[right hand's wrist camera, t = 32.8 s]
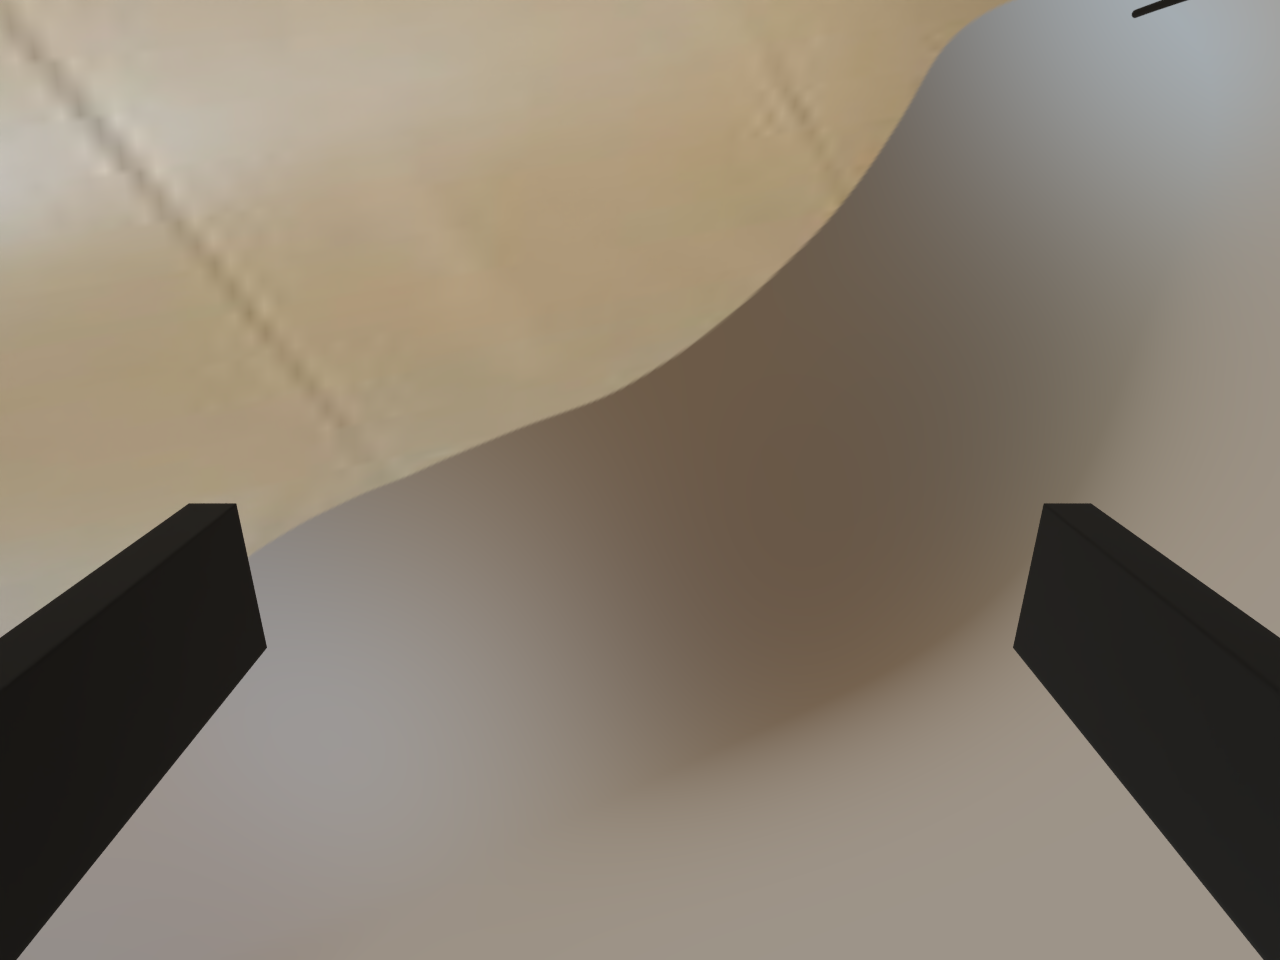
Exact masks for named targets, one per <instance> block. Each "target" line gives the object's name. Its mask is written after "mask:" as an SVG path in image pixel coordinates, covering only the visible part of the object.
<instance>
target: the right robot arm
mask: <svg viewBox="0 0 1280 960" xmlns="http://www.w3.org/2000/svg"><path fill="white" fill-rule="evenodd" d="M1184 1H1187V0H1160V1H1158V2H1155V3H1152V4H1149V5H1147V6H1144V7H1141V8H1138V9H1136V10H1134V11H1133V12H1132V17H1133V18H1137V17H1140V16H1143V15H1145V14H1148V13H1151V12H1154V11H1157V10H1160V9H1163V8H1166V7H1169V6H1172V5H1175V4H1178V3H1181V2H1184ZM266 648H267V646H266V641H265V637H264V632H263V627H262V622H261V618H260V613H259V608H258V604H257V599H256V594H255V590H254V585H253V580H252V576H251V571H250V566H249V561H248V557H247V552H246V547H245V543H244V538H243V533H242V529H241V524H240V519H239V515H238V510H237V505H236V504H188V505H186V506H185V507H183V508H182V509H181V510H179V511H178V512H176V513H175V514H174V515H172V516H171V517H169V518H168V519H167V520H165V521H164V522H162V523H161V524H160V525H158V526H157V527H155V528H154V529H153V530H151V531H150V532H148V533H147V534H146V535H144V536H143V537H141V538H140V539H138V540H137V541H136V542H134V543H133V544H131V545H130V546H129V547H127V548H126V549H124V550H123V551H122V552H120V553H119V554H117V555H116V556H115V557H113V558H112V559H110V560H109V561H108V562H106V563H105V564H103V565H102V566H101V567H99V568H98V569H96V570H95V571H94V572H92V573H91V574H89V575H88V576H86V577H85V578H84V579H82V580H81V581H79V582H78V583H77V584H75V585H74V586H72V587H71V588H70V589H68V590H67V591H65V592H64V593H63V594H61V595H60V596H58V597H57V598H56V599H54V600H53V601H51V602H50V603H49V604H47V605H46V606H44V607H43V608H41V609H40V610H39V611H37V612H36V613H34V614H33V615H32V616H30V617H29V618H27V619H26V620H25V621H23V622H22V623H20V624H19V625H18V626H16V627H15V628H13V629H12V630H11V631H9V632H8V633H6V634H5V635H4V636H2V637H1V638H0V960H16V959H17V958H18V957H19V956H20V954H21V953H22V952H23V951H24V950H25V948H26V947H27V946H28V945H29V943H30V942H31V941H32V940H33V938H34V937H35V936H36V935H37V933H38V932H39V931H40V930H41V928H42V927H43V926H44V925H45V923H46V922H47V921H48V920H49V918H50V917H51V916H52V915H53V913H54V912H55V911H56V910H57V908H58V907H59V906H60V905H61V903H62V902H63V901H64V900H65V898H66V897H67V896H68V895H69V893H70V892H71V891H72V890H73V889H74V887H75V886H76V885H77V884H78V882H79V881H80V880H81V878H82V877H83V876H84V875H85V874H86V872H87V871H88V870H89V869H90V867H91V866H92V865H93V864H94V862H95V861H96V860H97V859H98V857H99V856H100V855H101V854H102V852H103V851H104V850H105V849H106V847H107V846H108V845H109V844H110V842H111V841H112V840H113V839H114V837H115V836H116V835H117V834H118V832H119V831H120V830H121V829H122V827H123V826H124V825H125V824H126V822H127V821H128V820H129V819H130V817H131V816H132V815H133V814H134V813H135V811H136V810H137V809H138V808H139V806H140V805H141V804H142V803H143V801H144V800H145V799H146V797H147V796H148V795H149V794H150V793H151V791H152V790H153V789H154V788H155V786H156V785H157V784H158V783H159V781H160V780H161V779H162V778H163V776H164V775H165V774H166V773H167V771H168V770H169V769H170V768H171V766H172V765H173V764H174V763H175V761H176V760H177V759H178V758H179V756H180V755H181V754H182V753H183V751H184V750H185V749H186V748H187V747H188V745H189V744H190V743H191V742H192V740H193V739H194V738H195V737H196V735H197V734H198V733H199V732H200V730H201V729H202V728H203V727H204V725H205V724H206V723H207V722H208V720H209V719H210V718H211V717H212V715H213V714H214V713H215V712H216V710H217V709H218V708H219V707H220V705H221V704H222V703H223V702H224V700H225V699H226V698H227V697H228V695H229V694H230V693H231V692H232V690H233V689H234V688H235V687H236V685H237V684H238V683H239V682H240V680H241V679H242V678H243V677H244V675H245V674H246V673H247V672H248V670H249V669H250V668H251V667H252V666H253V664H254V663H255V662H256V661H257V659H258V658H259V657H260V656H261V654H262V653H263V652H264V651H265V649H266ZM1013 648H1014V649H1015V651H1016V652H1017V653H1018V654H1019V656H1020V657H1021V658H1022V659H1023V661H1024V662H1025V663H1026V664H1027V665H1028V667H1029V668H1030V669H1031V670H1032V672H1033V673H1034V674H1035V675H1036V677H1037V678H1038V679H1039V680H1040V682H1041V683H1042V684H1043V685H1044V687H1045V688H1046V689H1047V690H1048V692H1049V693H1050V694H1051V695H1052V697H1053V698H1054V699H1055V700H1056V702H1057V703H1058V704H1059V705H1060V707H1061V708H1062V709H1063V710H1064V712H1065V713H1066V714H1067V715H1068V717H1069V718H1070V719H1071V720H1072V722H1073V723H1074V724H1075V725H1076V727H1077V728H1078V729H1079V730H1080V731H1081V733H1082V734H1083V735H1084V737H1085V738H1086V739H1087V740H1088V741H1089V743H1090V744H1091V745H1092V746H1093V748H1094V749H1095V750H1096V751H1097V753H1098V754H1099V755H1100V756H1101V758H1102V759H1103V760H1104V761H1105V763H1106V764H1107V765H1108V766H1109V768H1110V769H1111V770H1112V771H1113V773H1114V774H1115V775H1116V776H1117V778H1118V779H1119V780H1120V781H1121V783H1122V784H1123V785H1124V786H1125V788H1126V789H1127V790H1128V791H1129V793H1130V794H1131V795H1132V796H1133V797H1134V799H1135V800H1136V801H1137V803H1138V804H1139V805H1140V806H1141V808H1142V809H1143V810H1144V811H1145V813H1146V814H1147V815H1148V816H1149V818H1150V819H1151V820H1152V821H1153V822H1154V824H1155V825H1156V826H1157V827H1158V829H1159V830H1160V831H1161V832H1162V834H1163V835H1164V836H1165V837H1166V839H1167V840H1168V841H1169V842H1170V844H1171V845H1172V846H1173V847H1174V849H1175V850H1176V851H1177V852H1178V854H1179V855H1180V856H1181V857H1182V859H1183V860H1184V861H1185V862H1186V863H1187V865H1188V866H1189V867H1190V869H1191V870H1192V871H1193V872H1194V873H1195V875H1196V876H1197V877H1198V879H1199V880H1200V881H1201V882H1202V883H1203V885H1204V886H1205V887H1206V889H1207V890H1208V891H1209V892H1210V893H1211V895H1212V896H1213V897H1214V898H1215V900H1216V901H1217V902H1218V903H1219V905H1220V906H1221V907H1222V908H1223V910H1224V911H1225V912H1226V913H1227V915H1228V916H1229V917H1230V918H1231V920H1232V921H1233V922H1234V923H1235V925H1236V926H1237V927H1238V928H1239V930H1240V931H1241V932H1242V933H1243V935H1244V936H1245V937H1246V938H1247V940H1248V941H1249V942H1250V943H1251V945H1252V946H1253V947H1254V948H1255V949H1256V951H1257V952H1258V953H1259V955H1260V956H1261V957H1262V958H1263V960H1280V638H1279V637H1278V636H1276V635H1275V634H1274V633H1272V632H1271V631H1269V630H1268V629H1267V628H1265V627H1264V626H1262V625H1261V624H1260V623H1258V622H1257V621H1255V620H1254V619H1253V618H1251V617H1250V616H1248V615H1247V614H1246V613H1244V612H1243V611H1241V610H1240V609H1238V608H1237V607H1236V606H1234V605H1233V604H1231V603H1230V602H1229V601H1227V600H1226V599H1224V598H1223V597H1222V596H1220V595H1219V594H1217V593H1216V592H1215V591H1213V590H1212V589H1210V588H1209V587H1208V586H1206V585H1205V584H1203V583H1202V582H1200V581H1199V580H1198V579H1196V578H1195V577H1194V576H1192V575H1191V574H1189V573H1188V572H1186V571H1185V570H1184V569H1182V568H1181V567H1179V566H1178V565H1177V564H1175V563H1174V562H1172V561H1171V560H1169V559H1168V558H1167V557H1165V556H1164V555H1163V554H1161V553H1160V552H1158V551H1157V550H1156V549H1154V548H1153V547H1151V546H1150V545H1149V544H1147V543H1146V542H1144V541H1143V540H1141V539H1140V538H1139V537H1137V536H1136V535H1134V534H1133V533H1132V532H1130V531H1129V530H1127V529H1126V528H1125V527H1123V526H1122V525H1120V524H1119V523H1118V522H1116V521H1115V520H1113V519H1112V518H1111V517H1109V516H1108V515H1106V514H1105V513H1104V512H1102V511H1101V510H1099V509H1098V508H1097V507H1095V506H1094V505H1092V504H1044V505H1043V510H1042V515H1041V519H1040V524H1039V529H1038V533H1037V538H1036V543H1035V547H1034V552H1033V557H1032V561H1031V566H1030V571H1029V576H1028V580H1027V585H1026V590H1025V594H1024V599H1023V604H1022V608H1021V613H1020V618H1019V623H1018V627H1017V632H1016V637H1015V641H1014V646H1013Z"/></svg>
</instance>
